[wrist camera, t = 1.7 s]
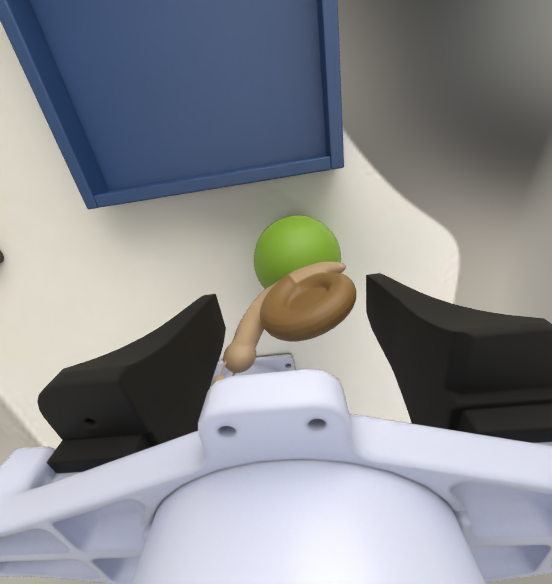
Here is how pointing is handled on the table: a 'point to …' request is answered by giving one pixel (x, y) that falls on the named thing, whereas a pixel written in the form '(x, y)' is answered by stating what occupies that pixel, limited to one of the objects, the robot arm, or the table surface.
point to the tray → (182, 90)
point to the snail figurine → (292, 289)
